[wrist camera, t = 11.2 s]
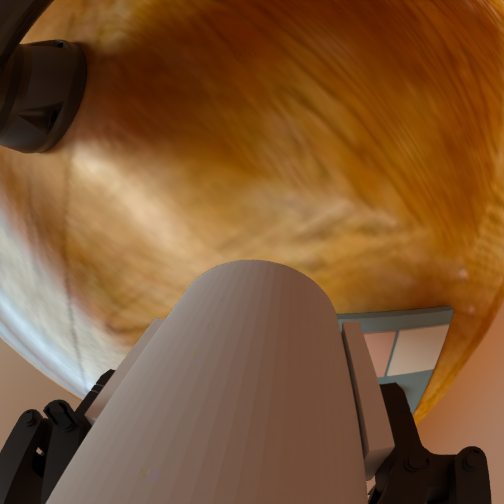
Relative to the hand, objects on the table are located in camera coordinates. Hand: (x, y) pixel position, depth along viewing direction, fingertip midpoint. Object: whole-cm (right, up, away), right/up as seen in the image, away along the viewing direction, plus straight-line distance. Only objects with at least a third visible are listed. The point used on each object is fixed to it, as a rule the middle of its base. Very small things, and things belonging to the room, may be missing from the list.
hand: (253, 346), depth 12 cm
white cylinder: (0, 0, +1) cm, 1 cm away
